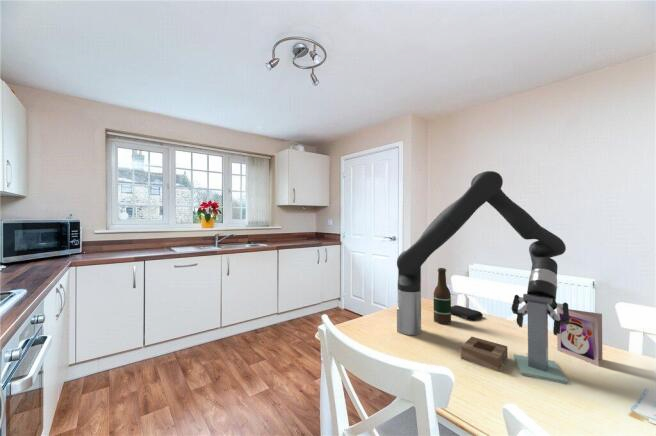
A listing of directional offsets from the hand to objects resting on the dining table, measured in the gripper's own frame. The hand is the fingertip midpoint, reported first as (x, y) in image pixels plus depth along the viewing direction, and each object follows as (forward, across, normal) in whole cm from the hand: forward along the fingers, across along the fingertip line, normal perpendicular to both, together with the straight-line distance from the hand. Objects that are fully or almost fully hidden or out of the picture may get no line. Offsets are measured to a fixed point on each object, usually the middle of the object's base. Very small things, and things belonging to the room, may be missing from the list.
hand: (537, 329), depth 84 cm
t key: (+7, 0, +9) cm, 12 cm away
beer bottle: (-5, -37, +23) cm, 44 cm away
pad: (+8, 0, +10) cm, 13 cm away
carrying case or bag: (-16, -33, +34) cm, 50 cm away
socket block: (+11, -14, +7) cm, 19 cm away
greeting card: (-6, +9, +24) cm, 26 cm away
